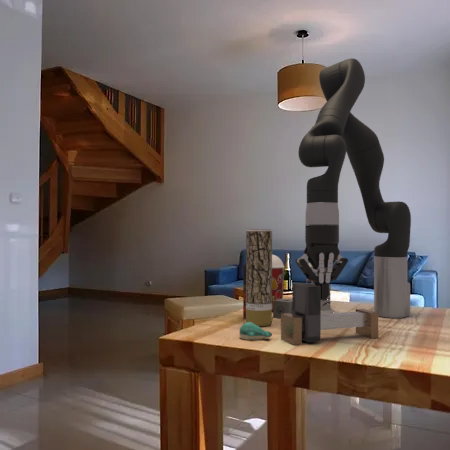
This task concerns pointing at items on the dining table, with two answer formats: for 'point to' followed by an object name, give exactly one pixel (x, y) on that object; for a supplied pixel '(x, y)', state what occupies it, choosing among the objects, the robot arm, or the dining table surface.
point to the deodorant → (244, 291)
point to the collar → (308, 309)
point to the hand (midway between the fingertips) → (321, 299)
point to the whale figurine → (253, 332)
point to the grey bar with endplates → (330, 324)
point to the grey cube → (281, 307)
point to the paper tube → (259, 276)
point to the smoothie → (277, 278)
